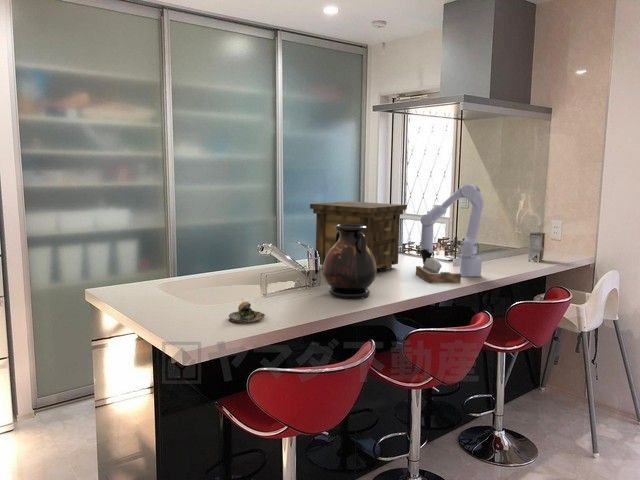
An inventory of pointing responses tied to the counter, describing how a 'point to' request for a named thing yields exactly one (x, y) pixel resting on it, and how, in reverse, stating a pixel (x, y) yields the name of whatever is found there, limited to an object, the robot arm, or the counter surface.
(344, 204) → the crate
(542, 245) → the coffee box
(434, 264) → the grey rock
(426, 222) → the robot arm
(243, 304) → the mossy rock
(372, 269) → the amphora vase
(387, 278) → the counter surface
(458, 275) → the arena
